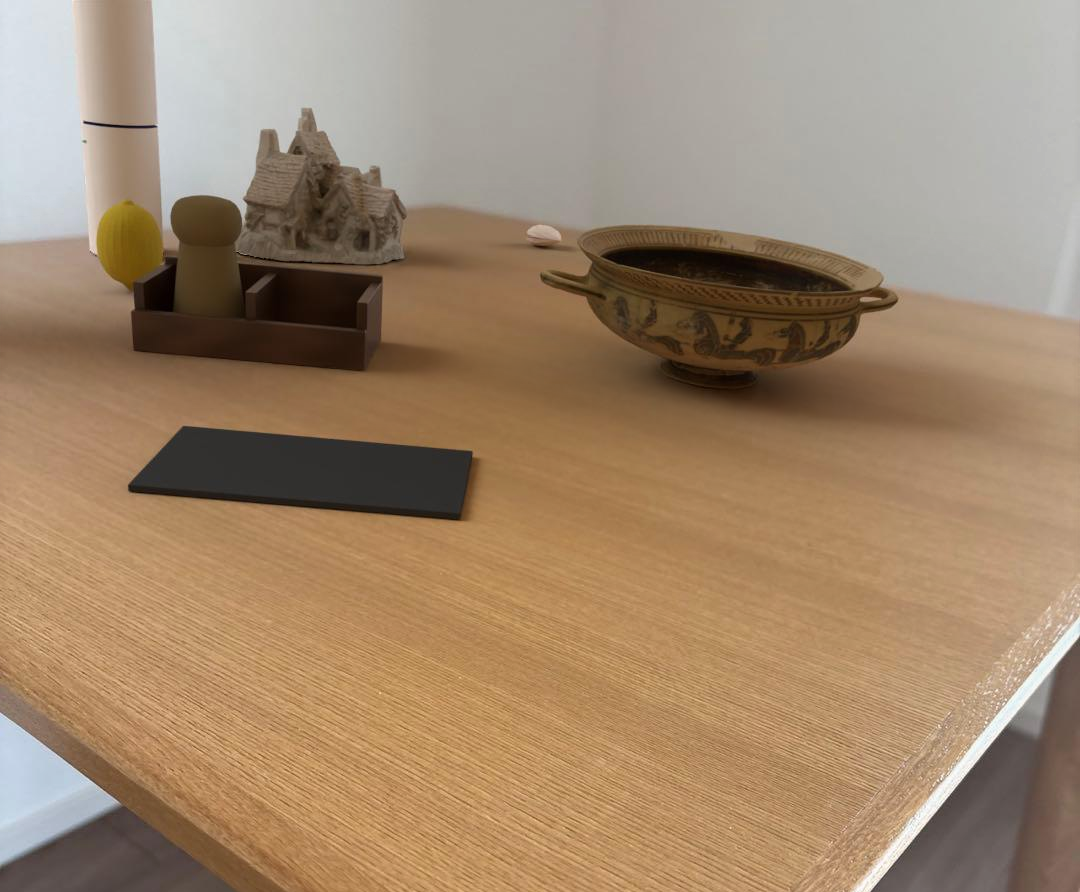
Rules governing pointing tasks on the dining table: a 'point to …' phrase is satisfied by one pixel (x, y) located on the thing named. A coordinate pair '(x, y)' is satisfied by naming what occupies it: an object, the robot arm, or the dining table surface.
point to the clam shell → (543, 235)
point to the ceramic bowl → (722, 299)
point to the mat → (309, 472)
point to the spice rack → (268, 317)
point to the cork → (207, 257)
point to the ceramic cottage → (318, 204)
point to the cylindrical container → (117, 106)
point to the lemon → (128, 243)
